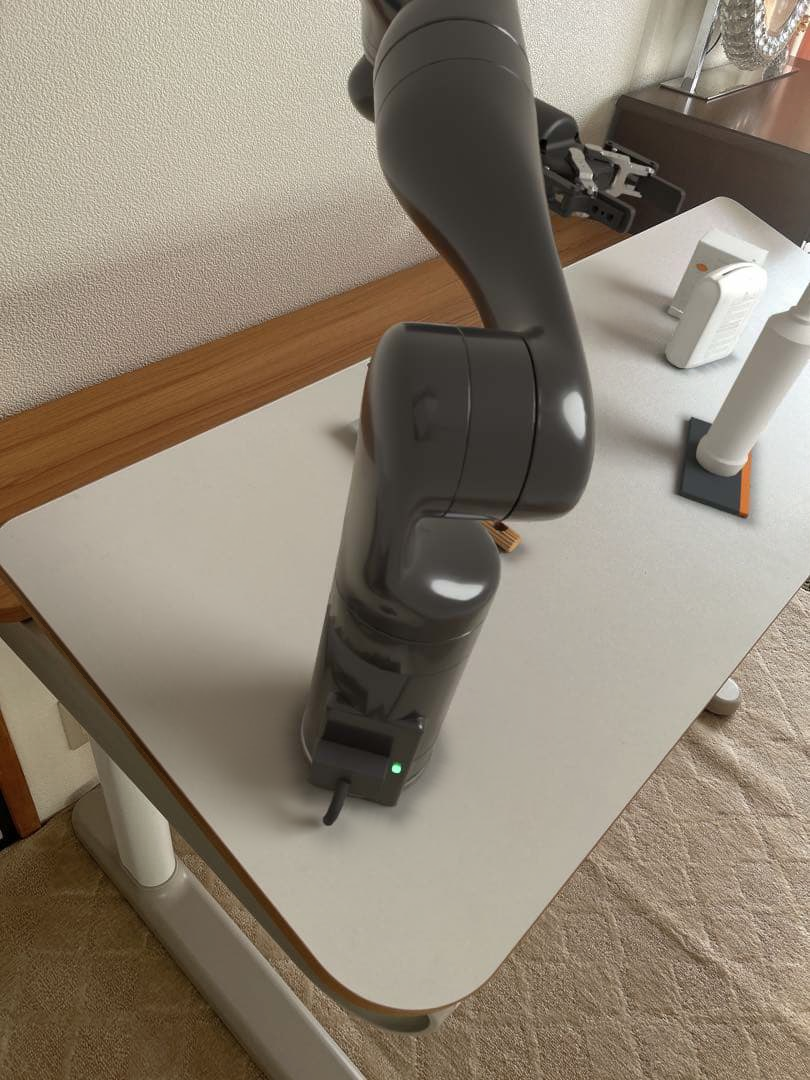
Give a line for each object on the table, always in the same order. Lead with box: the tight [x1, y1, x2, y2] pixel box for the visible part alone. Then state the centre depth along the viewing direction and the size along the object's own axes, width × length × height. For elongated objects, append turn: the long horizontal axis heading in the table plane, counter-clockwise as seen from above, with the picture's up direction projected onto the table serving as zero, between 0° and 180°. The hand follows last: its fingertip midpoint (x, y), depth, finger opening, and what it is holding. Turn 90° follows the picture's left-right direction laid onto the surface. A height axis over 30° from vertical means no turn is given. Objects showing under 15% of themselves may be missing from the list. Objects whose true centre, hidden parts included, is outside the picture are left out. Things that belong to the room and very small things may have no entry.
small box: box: [667, 227, 769, 320], centre depth 114 cm, size 8×6×10 cm
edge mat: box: [679, 416, 752, 519], centre depth 94 cm, size 14×7×1 cm, turn 162°
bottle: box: [696, 281, 810, 477], centre depth 85 cm, size 5×5×25 cm
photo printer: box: [664, 262, 768, 370], centre depth 106 cm, size 10×4×12 cm, turn 126°
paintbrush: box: [348, 418, 522, 553], centre depth 82 cm, size 4×3×20 cm
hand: (656, 212), depth 78 cm, fingers open, 8 cm apart
